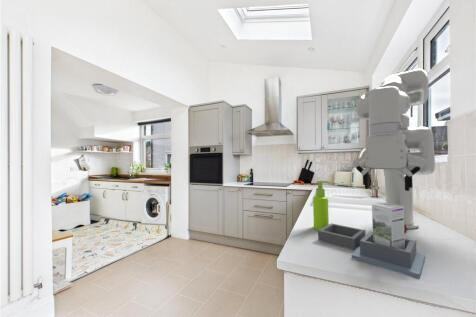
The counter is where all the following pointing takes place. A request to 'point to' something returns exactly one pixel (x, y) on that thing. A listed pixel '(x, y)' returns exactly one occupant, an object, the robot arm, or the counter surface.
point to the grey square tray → (341, 236)
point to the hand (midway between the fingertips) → (386, 188)
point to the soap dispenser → (320, 207)
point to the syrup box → (388, 225)
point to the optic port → (391, 256)
